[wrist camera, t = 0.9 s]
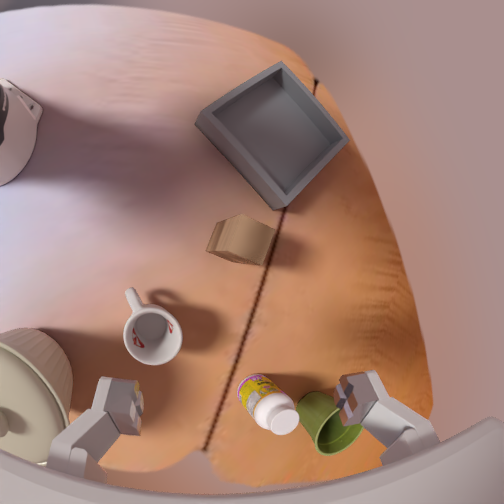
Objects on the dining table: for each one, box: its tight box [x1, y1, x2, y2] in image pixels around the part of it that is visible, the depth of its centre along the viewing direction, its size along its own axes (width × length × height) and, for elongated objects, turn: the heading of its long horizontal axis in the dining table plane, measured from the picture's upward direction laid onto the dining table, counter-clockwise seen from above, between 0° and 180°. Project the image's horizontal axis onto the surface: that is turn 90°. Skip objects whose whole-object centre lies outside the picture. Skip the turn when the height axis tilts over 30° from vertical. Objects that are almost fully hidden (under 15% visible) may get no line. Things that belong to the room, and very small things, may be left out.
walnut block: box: [206, 214, 275, 265], centre depth 41 cm, size 5×5×12 cm
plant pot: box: [296, 392, 364, 456], centre depth 48 cm, size 12×12×11 cm
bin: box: [195, 61, 349, 210], centre depth 48 cm, size 20×20×5 cm
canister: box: [0, 328, 73, 466], centre depth 25 cm, size 18×18×21 cm
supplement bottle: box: [237, 374, 299, 435], centre depth 43 cm, size 7×7×13 cm
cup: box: [123, 287, 183, 365], centre depth 39 cm, size 11×8×8 cm
